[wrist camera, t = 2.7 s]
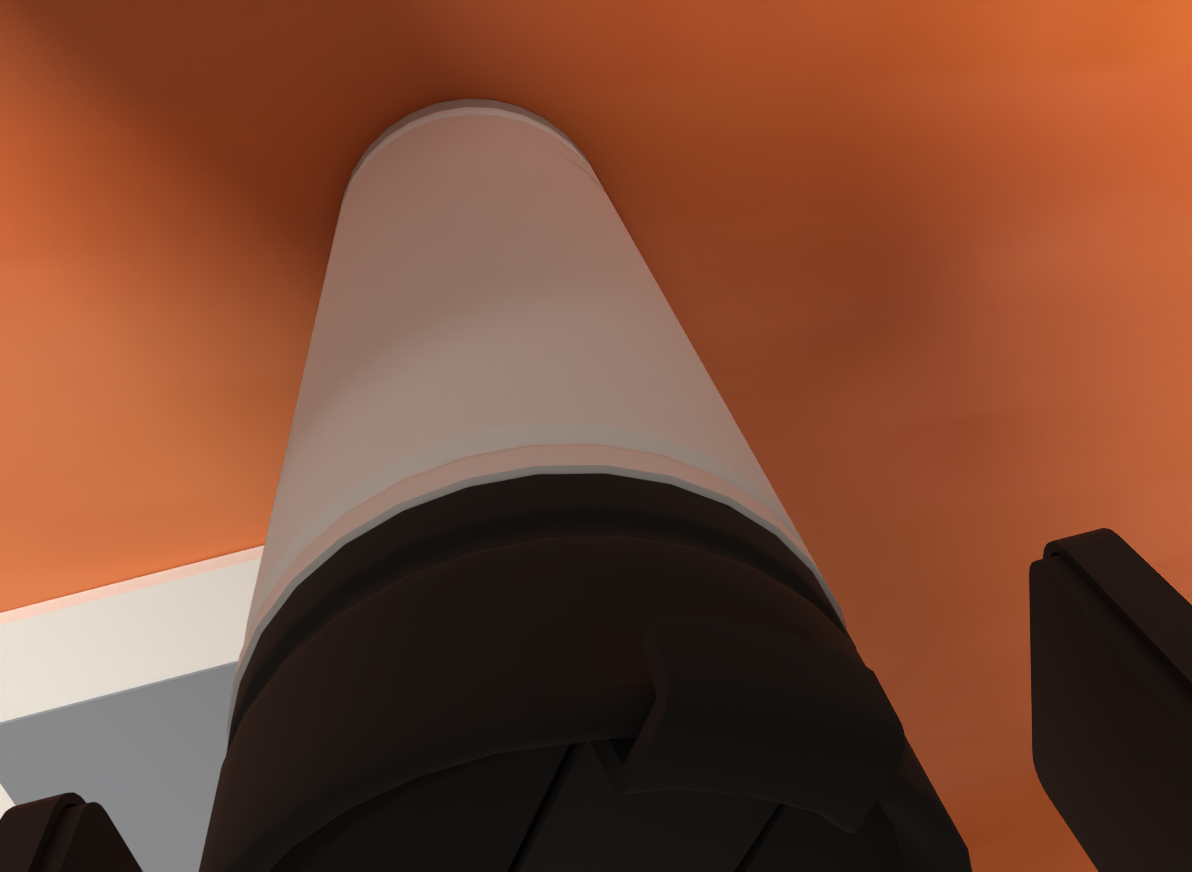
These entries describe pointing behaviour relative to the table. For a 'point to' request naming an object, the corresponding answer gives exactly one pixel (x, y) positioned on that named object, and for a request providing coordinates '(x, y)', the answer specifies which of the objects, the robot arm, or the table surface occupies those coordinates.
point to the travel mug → (538, 567)
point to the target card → (128, 701)
